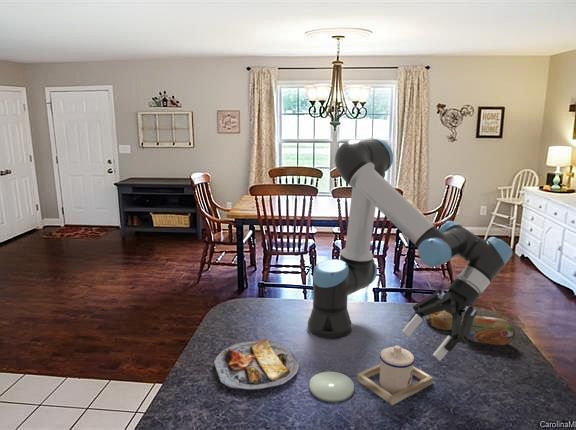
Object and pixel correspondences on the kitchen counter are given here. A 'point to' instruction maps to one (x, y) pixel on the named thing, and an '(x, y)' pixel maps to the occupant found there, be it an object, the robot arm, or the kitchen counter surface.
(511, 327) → the tin
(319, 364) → the kitchen counter surface
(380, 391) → the wooden frame
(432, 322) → the bread roll
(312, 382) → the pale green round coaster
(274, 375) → the food plate
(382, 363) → the teacup with lid
